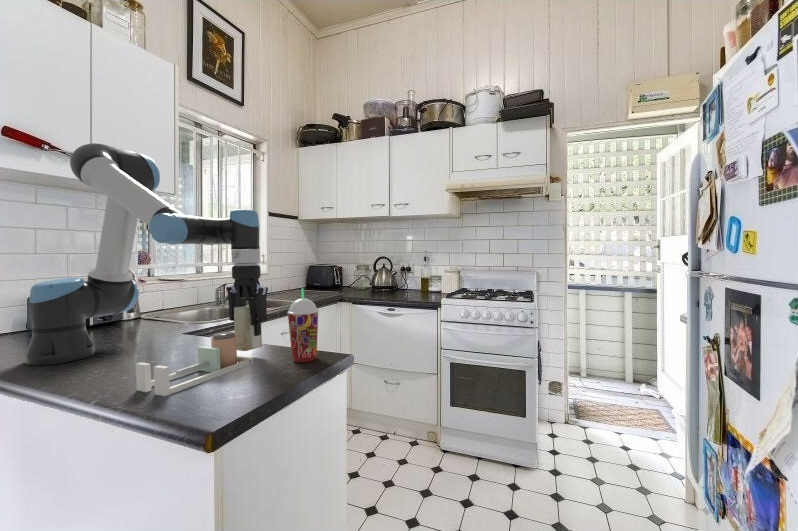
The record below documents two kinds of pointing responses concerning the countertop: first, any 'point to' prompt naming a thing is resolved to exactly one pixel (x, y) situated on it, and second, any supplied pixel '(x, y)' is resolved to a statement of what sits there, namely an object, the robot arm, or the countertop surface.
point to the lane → (164, 377)
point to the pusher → (204, 361)
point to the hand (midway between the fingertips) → (248, 345)
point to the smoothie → (303, 329)
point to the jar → (225, 348)
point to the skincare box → (243, 328)
